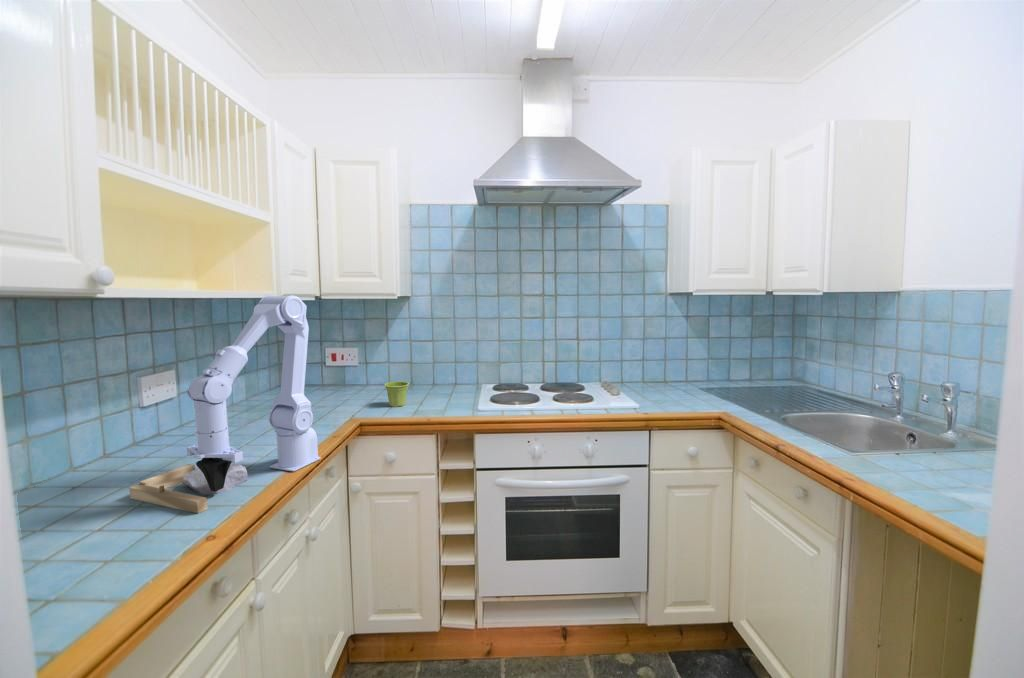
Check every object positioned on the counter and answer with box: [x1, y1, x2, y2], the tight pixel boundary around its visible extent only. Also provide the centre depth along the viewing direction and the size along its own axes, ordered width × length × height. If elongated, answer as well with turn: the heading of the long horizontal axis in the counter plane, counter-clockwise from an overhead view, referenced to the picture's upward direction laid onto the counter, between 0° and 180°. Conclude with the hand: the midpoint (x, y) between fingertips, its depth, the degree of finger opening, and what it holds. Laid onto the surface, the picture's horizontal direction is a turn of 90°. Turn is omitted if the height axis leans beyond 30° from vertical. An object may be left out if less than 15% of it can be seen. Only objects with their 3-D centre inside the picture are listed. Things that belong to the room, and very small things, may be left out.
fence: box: [128, 463, 208, 514], centre depth 101 cm, size 13×21×4 cm, turn 70°
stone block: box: [182, 463, 249, 495], centre depth 106 cm, size 12×5×10 cm
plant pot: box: [384, 381, 410, 408], centre depth 179 cm, size 9×9×9 cm
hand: (217, 489), depth 100 cm, fingers closed
